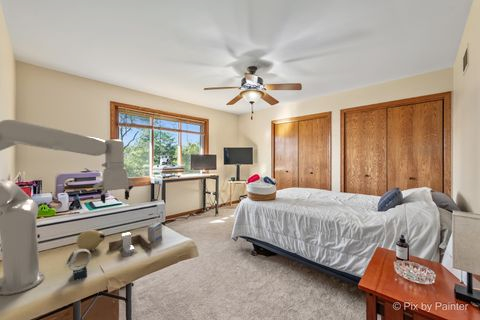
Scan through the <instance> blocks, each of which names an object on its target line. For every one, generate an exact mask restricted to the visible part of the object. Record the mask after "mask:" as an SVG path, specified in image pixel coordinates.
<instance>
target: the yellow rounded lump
mask: <svg viewBox="0 0 480 320" xmlns="http://www.w3.org/2000/svg"><path fill="white" fill-rule="evenodd" d="M105 238H106V235H105V233H104V231H102V230H100V231H98V230H95V229H88V230H85V231H83V232H81V233H80V234H79V236H77V238H76V246H77V248H78V249H87V250H89V251H92V252H94V251H96V248H98V247H99V245H100V244H101V243H102V242H103V241H104V240H105ZM81 253H84V252H83V251H82V252H81Z"/></svg>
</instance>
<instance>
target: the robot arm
mask: <svg viewBox="0 0 480 320" xmlns="http://www.w3.org/2000/svg"><path fill="white" fill-rule="evenodd" d="M16 145H23V146H31V147H35V148H42V149H48V150H54V151H60V152H61V151H64V152H69V153H76V154H80V155H81V154H82V155H87V156H93V157H94V156H95V157H99V156H103V155H104V156H105V159H104V160H105V162H104V163H101V167H104V169H103V173H102V180H101V181H100V182H98V183H96V184H94V185H93V186H92V187H93V188H94V190H95V191H96V192H97V193H98V194H99V195H100V202H102V204H105V203H106V194H105V193H106V192H107V191H117V190H124V199H125V200H127V201H128V200H129V198H130V192H131V190H132V189H133V188H134V185H136V182H135V181H133V180H131V179H128V171H127V168H126V167H125V161H124V160H125V159H124V158H125V152H124V151H125V150H124V148H125V147H124V146H125V144H124V141H123V140H121V139H107V140H106V139H100V138H96V137H92V136H87V135H83V134H77V133H73V132H69V131H66V130H62V129H58V128H53V127H49V126H48V127H47V126H44V125H39V124H34V123H29V122H25V121H20V120H17V119H16V120H15V119H3V120H1V121H0V152H1V151H3V150H7V149H8V148H11V147H14V146H16ZM100 186H101V187H102V189H100V188H99V187H100ZM39 210H40V208H39V206H38V204H37V203H36V201H35V200H33V198H32V197H30V195H28V194H27V193H26V192H25V191H24V190H23V189H22V188H21V187H20V186H19V185H18V184H17V183H15V182H13V181H11V180H9V179H0V212H1V215H0V241H1V244H0V245H1V252H2V253H1V255H2V269H3V273H2V274H3V275H2V277H1V278H0V295H1V294H3V295H2V296H9V295H10V294H11V295H14V294H15V293H16V294H19V293H21V292H25V291H27V290H30V289H32V288H34V287H35V286H38V285H39V284H40V283H42V281H43V280H45V275H46V274H45V272H42V271H40V262H39V261H40V260H39V241H38V227H37V218H38V214H39ZM16 294H15V295H16Z"/></svg>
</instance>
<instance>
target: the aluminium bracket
mask: <svg viewBox="0 0 480 320" xmlns="http://www.w3.org/2000/svg"><path fill="white" fill-rule="evenodd" d="M131 236H132V233H131V232H130V231H129V232H124V233H121V236H120V239H121V247H120V248H121V249H122V250H123V252H124V253H125V254H126V255H127V254H130V253H133V252H134V249H135V247H134V246H133V244H131Z"/></svg>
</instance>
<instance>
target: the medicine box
mask: <svg viewBox="0 0 480 320" xmlns="http://www.w3.org/2000/svg"><path fill="white" fill-rule="evenodd" d="M162 224H163V223H162V222H160V221H159V222H158V221H157V222H154V223H152V224H150V225H148V227H147V240H148V241H150V242H151V243H153V242H154V243H155V242H156V241H158V240H159V239H160V238H161V237H162V236H163V234H162V232H163V229H162V226H163V225H162Z"/></svg>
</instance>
